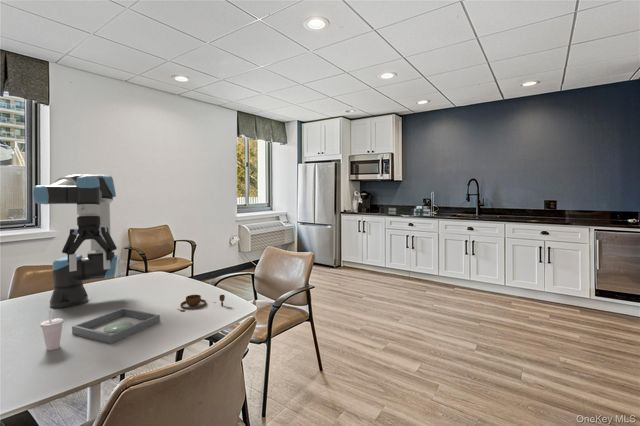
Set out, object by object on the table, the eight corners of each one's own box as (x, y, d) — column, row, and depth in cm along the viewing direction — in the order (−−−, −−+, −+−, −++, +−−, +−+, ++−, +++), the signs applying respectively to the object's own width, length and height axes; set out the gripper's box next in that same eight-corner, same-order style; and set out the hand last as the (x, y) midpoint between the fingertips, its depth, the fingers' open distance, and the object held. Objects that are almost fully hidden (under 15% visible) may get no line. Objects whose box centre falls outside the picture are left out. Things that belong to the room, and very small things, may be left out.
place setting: (201, 299, 173) (200, 288, 172) (227, 306, 162) (227, 294, 161) (170, 309, 158) (170, 297, 157) (197, 318, 147) (196, 305, 147)
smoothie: (50, 343, 120) (48, 306, 119) (68, 343, 121) (67, 306, 120) (36, 352, 114) (34, 313, 113) (56, 352, 114) (54, 312, 113)
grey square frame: (72, 333, 129) (71, 326, 129) (123, 314, 149) (123, 307, 149) (111, 343, 121) (110, 335, 121) (160, 321, 141) (159, 314, 141)
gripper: (49, 217, 126) (50, 273, 125) (113, 213, 125) (114, 269, 124) (65, 218, 133) (66, 270, 132) (125, 214, 132) (127, 267, 131)
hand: (90, 270), depth 128 cm, fingers open, 13 cm apart
